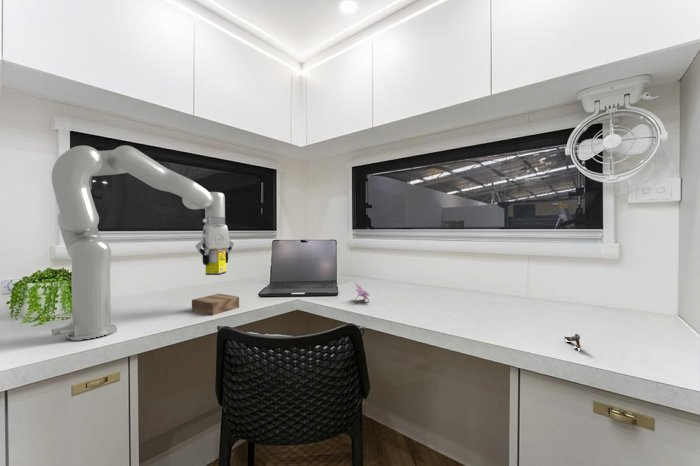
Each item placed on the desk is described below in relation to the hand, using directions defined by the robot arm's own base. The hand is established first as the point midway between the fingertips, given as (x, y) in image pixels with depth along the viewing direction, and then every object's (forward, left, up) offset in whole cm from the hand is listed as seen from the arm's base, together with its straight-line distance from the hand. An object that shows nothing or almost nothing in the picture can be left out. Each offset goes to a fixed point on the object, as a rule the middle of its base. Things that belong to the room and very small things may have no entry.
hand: (215, 263), depth 129 cm
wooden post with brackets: (+38, -123, -20) cm, 130 cm away
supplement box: (0, 0, -5) cm, 5 cm away
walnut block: (0, 0, -20) cm, 20 cm away
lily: (+46, -43, -20) cm, 66 cm away
